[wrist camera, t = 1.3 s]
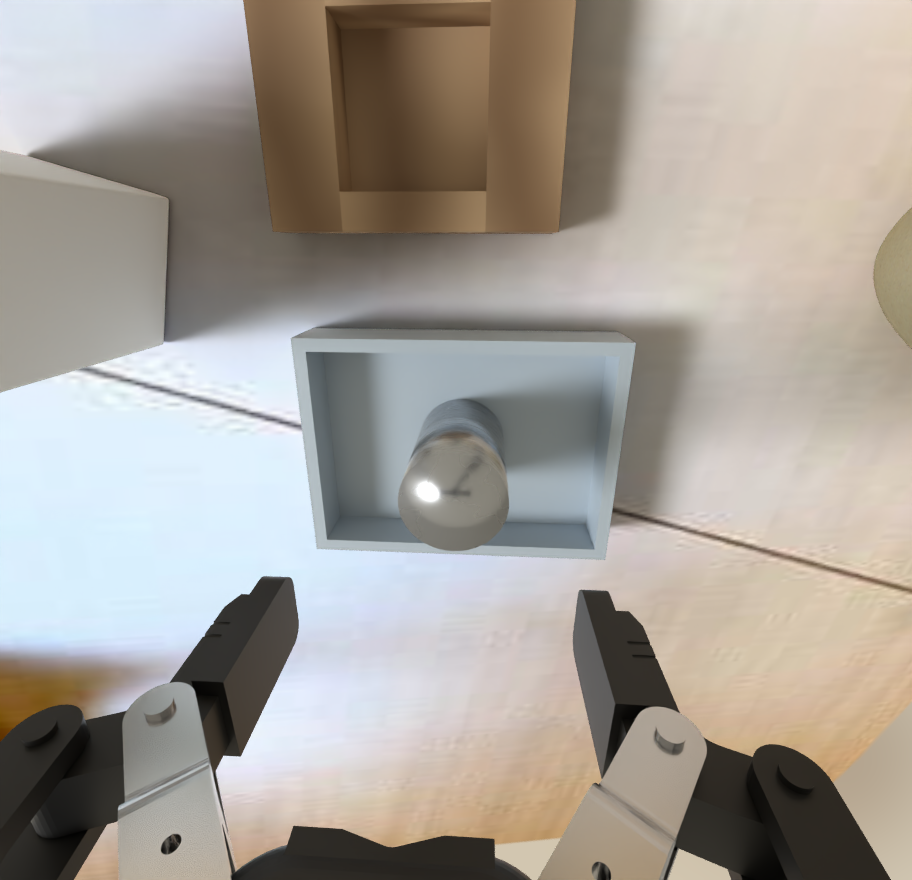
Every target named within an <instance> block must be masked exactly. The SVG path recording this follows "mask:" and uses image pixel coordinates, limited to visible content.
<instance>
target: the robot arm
mask: <svg viewBox="0 0 912 880" xmlns="http://www.w3.org/2000/svg"><path fill="white" fill-rule="evenodd" d="M298 627H299V620H298V613H297V606H296V599H295V592H294V585H293V581H292V579H291V578H290V577H269V576H264V577H262V578H261V579H260V580H259V581H258V583H257V584H256V586H255V587H254V589H253V590H252V592H251V593H250V595H247V594H241V595H240V596H238V597H237V598H236V599H234V600H233V601H232V602H231V603H229V604H228V605H227V606H225V607H224V609H223V610H222V611H221V613H220V614H219V615H218V617H217V618H216V620H215V621H214V624H213V625H211V626H210V628H209V629H208V631H207V632H206V633H205V637H202V639H201V640H200V642H199V643H198V644H197V646H196V647H195V648H194V650H193V651H192V653H191V654H190V655H189V657H188V658H187V659H186V661H185V662H184V664H183V665H182V666H181V668H180V669H179V670H178V672H177V673H176V675H175V676H174V677H173V679H172V680H171V681H170V683H167V684H163V685H160V686H157V687H155V688H153V689H151V690H149V691H148V692H146V693H144V694H143V695H142V696H140V697H139V698H138V699H137V700H136V701H135V702H134V703H133V704H132V705H131V706H130V707H129V709H128V710H127V711H124V712H120V713H116V714H111V715H107V716H102V717H98V718H94V719H89V720H85V719H84V716H83V714H82V711H81V710H80V709H79V708H78V707H76V706H73V705H58V706H54V707H50V708H47V709H45V710H42V711H40V712H38V713H36V714H34V715H32V716H30V717H28V718H27V719H25V720H24V721H22V722H21V723H20V724H18V725H17V726H16V727H15V728H13V729H12V730H11V731H10V732H9V733H8V734H7V735H6V736H5V738H4V739H3V740H2V741H1V742H0V880H74V878H75V877H76V875H77V873H78V872H79V870H80V868H81V867H82V865H83V864H84V862H85V860H86V859H87V857H88V855H89V854H90V852H91V850H92V849H93V847H94V845H95V844H96V842H97V840H98V839H99V837H100V835H101V834H102V832H103V830H104V829H105V827H106V825H107V824H110V823H114V822H117V821H118V859H119V880H531V879H530V878H529V877H528V876H527V875H525V874H524V873H523V872H521V871H520V870H519V869H517V868H516V867H514V866H512V865H510V864H509V863H507V862H505V861H502V860H500V859H498V858H495V852H494V851H495V845H494V839H488V838H472V837H457V836H441V837H437V838H432V839H428V840H424V841H420V842H415V843H411V844H407V845H403V846H398V847H393V848H392V847H386V846H383V845H381V844H378V843H376V842H373V841H371V840H368V839H366V838H363V837H361V836H358V835H356V834H353V833H351V832H348V831H346V830H343V829H333V828H318V827H302V826H293V829H292V832H291V835H290V838H289V841H288V844H287V845H285V846H281V847H278V848H276V849H273V850H271V851H268V852H266V853H264V854H262V855H260V856H258V857H256V858H254V859H253V860H251V861H250V862H248V863H247V864H245V865H244V866H242V867H241V868H240V869H238V870H237V866H236V862H235V857H234V853H233V849H232V844H231V839H230V835H229V830H228V825H227V820H226V816H225V811H224V806H223V801H222V797H221V792H220V787H219V782H218V778H217V773H216V769H217V767H218V765H219V763H220V761H221V759H222V757H223V756H241V755H242V753H243V750H244V748H245V746H246V744H247V742H248V740H249V738H250V736H251V734H252V732H253V730H254V728H255V725H256V723H257V721H258V719H259V717H260V715H261V713H262V711H263V709H264V707H265V705H266V703H267V700H268V698H269V696H270V694H271V692H272V690H273V688H274V686H275V684H276V682H277V680H278V678H279V675H280V673H281V671H282V669H283V667H284V665H285V663H286V661H287V659H288V657H289V655H290V653H291V650H292V648H293V646H294V644H295V642H296V638H297V634H298ZM573 650H574V658H575V662H576V667H577V671H578V676H579V680H580V685H581V689H582V693H583V698H584V702H585V707H586V711H587V716H588V720H589V725H590V729H591V734H592V738H593V742H594V747H595V751H596V756H597V760H598V765H599V769H600V774H601V778H602V781H601V782H600V783H599V785H598V784H597V783H594V784H593V785H592V786H591V787H590V788H589V790H588V792H587V793H586V795H585V797H584V798H583V800H582V802H581V804H580V806H579V807H578V809H577V811H576V813H575V814H574V816H573V818H572V820H571V822H570V823H569V825H568V827H567V829H566V830H565V832H564V834H563V836H562V837H561V839H560V841H559V843H558V845H557V846H556V848H555V850H554V852H553V853H552V855H551V857H550V859H549V861H548V862H547V864H546V866H545V868H544V869H543V871H542V873H541V875H540V877H539V878H538V880H668V878H669V875H670V872H671V869H672V867H673V864H674V861H675V858H676V855H677V853H678V850H679V849H681V850H684V851H686V852H689V853H691V854H693V855H696V856H698V857H700V858H703V859H705V860H708V861H710V862H712V863H715V864H717V865H719V866H722V867H725V868H727V869H728V871H729V874H730V877H731V880H891V879H890V877H889V876H888V874H887V873H886V871H885V869H884V867H883V866H882V864H881V862H880V861H879V859H878V857H877V856H876V854H875V852H874V851H873V849H872V848H871V846H870V844H869V842H868V841H867V839H866V837H865V836H864V834H863V832H862V831H861V829H860V827H859V826H858V824H857V823H856V821H855V819H854V818H853V816H852V814H851V812H850V811H849V809H848V807H847V806H846V804H845V802H844V801H843V799H842V797H841V796H840V794H839V792H838V791H837V789H836V787H835V786H834V784H833V782H832V781H831V779H830V778H829V777H828V775H827V774H826V773H825V772H824V771H823V770H822V769H821V768H820V767H819V766H818V765H817V764H816V763H814V762H813V761H812V760H811V759H809V758H808V757H806V756H805V755H803V754H801V753H799V752H798V751H796V750H793V749H791V748H788V747H785V746H781V745H773V744H769V745H764V746H761V747H760V748H758V749H757V750H756V751H755V753H754V755H753V757H751V756H748V755H745V754H742V753H739V752H736V751H733V750H730V749H727V748H725V747H722V746H719V745H717V744H714V743H712V742H710V741H709V740H707V739H705V738H704V737H703V735H702V734H701V732H700V730H699V729H698V728H697V727H696V725H695V724H694V723H693V722H692V721H690V720H689V719H688V718H687V717H685V716H684V715H682V714H680V712H679V710H678V708H677V705H676V703H675V701H674V698H673V696H672V694H671V691H670V689H669V687H668V684H667V682H666V679H665V677H664V675H663V672H662V670H661V668H660V665H659V663H658V661H657V659H656V658H655V654H654V651H653V649H652V647H651V646H650V642H649V640H648V637H647V635H646V633H645V630H644V628H643V626H642V625H641V624H640V623H639V622H638V621H637V619H636V618H635V617H634V616H633V615H632V614H631V613H630V612H629V611H616V610H615V607H614V605H613V602H612V599H611V597H610V594H609V592H608V591H596V590H580V591H579V593H578V599H577V607H576V615H575V623H574V631H573Z"/></svg>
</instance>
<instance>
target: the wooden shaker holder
mask: <svg viewBox="0 0 912 880" xmlns="http://www.w3.org/2000/svg"><path fill="white" fill-rule="evenodd" d="M243 2H244V10H245V17H246V25H247V33H248V41H249V49H250V57H251V64H252V72H253V80H254V88H255V96H256V103H257V111H258V119H259V127H260V135H261V142H262V150H263V158H264V166H265V174H266V181H267V189H268V197H269V205H270V213H271V220H272V228H273V232H285V233H460V234H552V233H556V232H559V220H560V207H561V193H562V180H563V167H564V154H565V141H566V128H567V114H568V101H569V88H570V75H571V62H572V48H573V35H574V22H575V9H576V0H243Z"/></svg>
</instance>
